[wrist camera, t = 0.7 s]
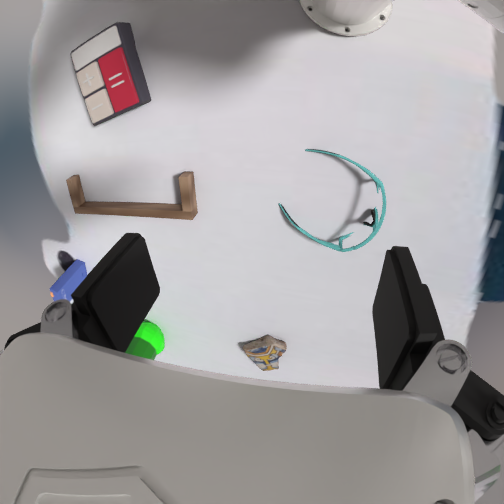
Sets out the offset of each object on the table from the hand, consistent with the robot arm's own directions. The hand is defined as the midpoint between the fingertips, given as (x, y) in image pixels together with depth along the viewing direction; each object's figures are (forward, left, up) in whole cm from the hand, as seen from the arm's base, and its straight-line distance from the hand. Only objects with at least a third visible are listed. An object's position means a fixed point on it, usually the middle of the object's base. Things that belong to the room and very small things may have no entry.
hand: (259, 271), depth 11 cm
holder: (+11, -30, -34) cm, 46 cm away
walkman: (+34, -51, -34) cm, 70 cm away
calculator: (-10, -30, -34) cm, 46 cm away
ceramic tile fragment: (+50, -4, -34) cm, 61 cm away
